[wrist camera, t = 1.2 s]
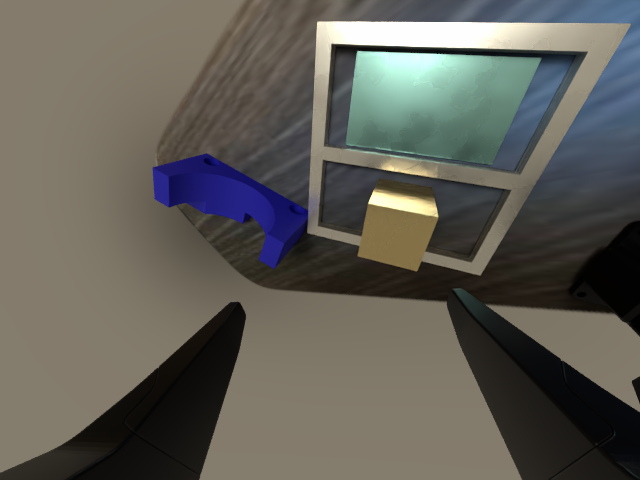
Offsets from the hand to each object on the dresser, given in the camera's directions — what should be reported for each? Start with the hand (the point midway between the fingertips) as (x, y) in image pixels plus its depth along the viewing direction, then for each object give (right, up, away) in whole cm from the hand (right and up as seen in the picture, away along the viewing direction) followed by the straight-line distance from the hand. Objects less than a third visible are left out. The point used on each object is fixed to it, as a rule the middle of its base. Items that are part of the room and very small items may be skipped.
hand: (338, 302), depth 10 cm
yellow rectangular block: (+6, +6, +9) cm, 12 cm away
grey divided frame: (+6, +8, +7) cm, 12 cm away
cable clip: (-8, +7, +14) cm, 17 cm away
